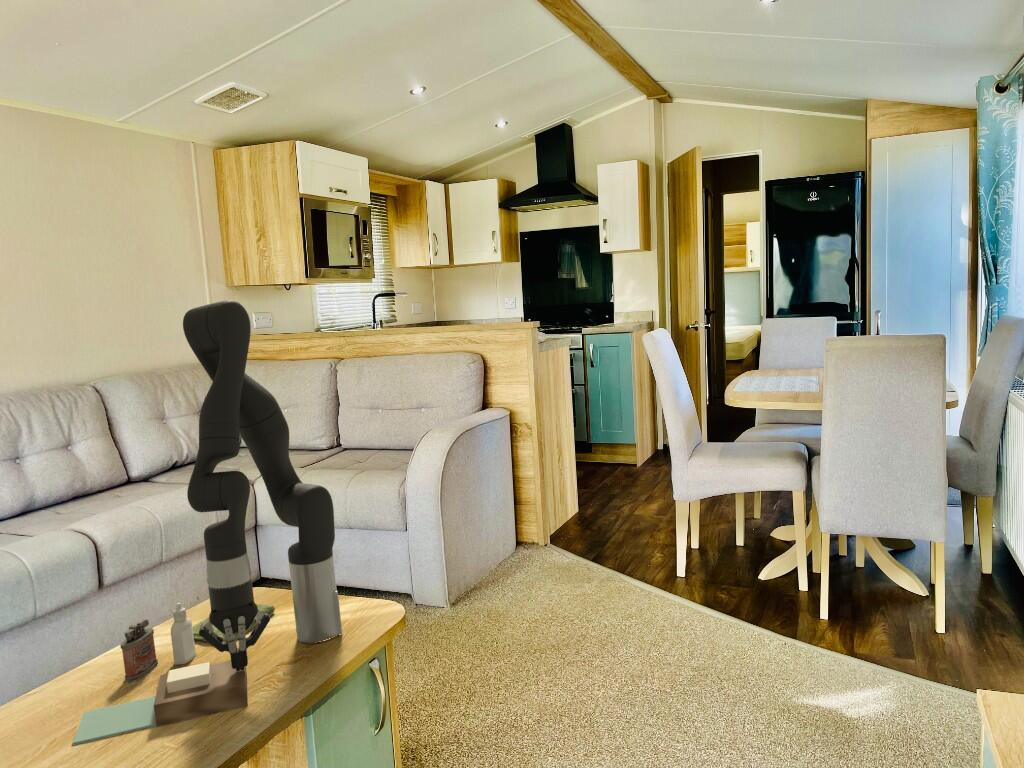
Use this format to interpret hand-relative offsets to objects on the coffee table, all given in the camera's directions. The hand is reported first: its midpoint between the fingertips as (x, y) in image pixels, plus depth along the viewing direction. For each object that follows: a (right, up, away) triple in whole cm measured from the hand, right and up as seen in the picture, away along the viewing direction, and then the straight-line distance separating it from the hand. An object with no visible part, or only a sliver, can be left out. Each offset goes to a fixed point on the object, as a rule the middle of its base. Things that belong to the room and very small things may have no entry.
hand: (240, 668), depth 142 cm
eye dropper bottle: (-17, -4, +17) cm, 24 cm away
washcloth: (-13, -3, +32) cm, 35 cm away
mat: (-19, -7, -6) cm, 21 cm away
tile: (-8, -1, -3) cm, 9 cm away
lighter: (-24, -5, +12) cm, 28 cm away
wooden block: (-6, -5, -2) cm, 8 cm away
